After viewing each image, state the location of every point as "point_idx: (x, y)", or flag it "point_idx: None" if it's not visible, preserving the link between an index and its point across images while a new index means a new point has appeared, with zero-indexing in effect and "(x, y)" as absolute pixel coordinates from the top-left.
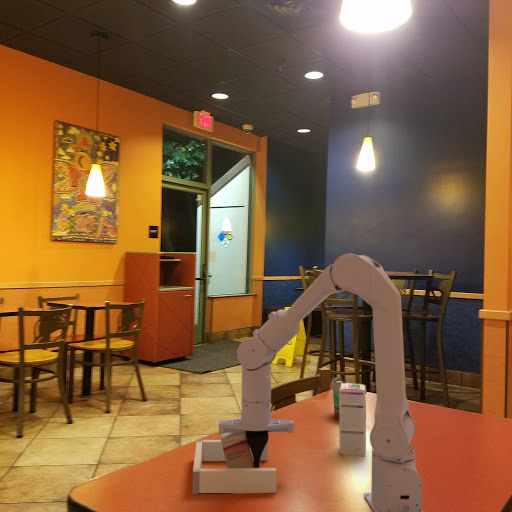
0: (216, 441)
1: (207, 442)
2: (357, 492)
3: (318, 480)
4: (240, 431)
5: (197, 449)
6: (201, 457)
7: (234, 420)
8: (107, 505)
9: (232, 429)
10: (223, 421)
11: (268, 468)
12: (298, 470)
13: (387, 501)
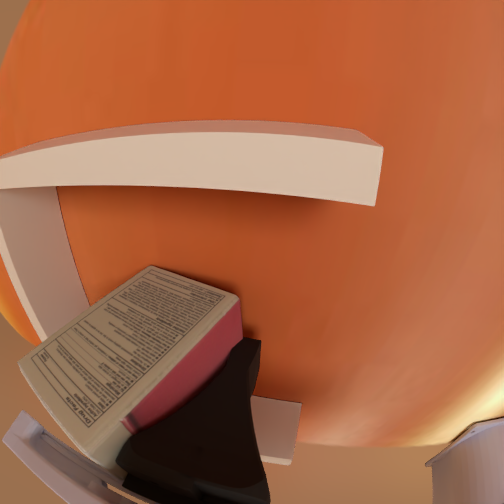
0: (19, 182)
1: (2, 186)
2: (478, 412)
3: (454, 373)
4: (110, 476)
5: (10, 272)
6: (38, 261)
7: (43, 478)
8: (28, 338)
9: (73, 465)
10: (15, 452)
11: (267, 457)
12: (449, 306)
13: (433, 487)
